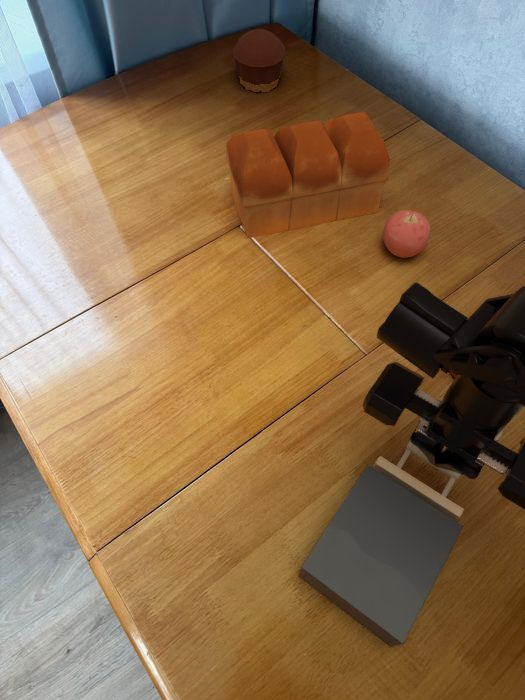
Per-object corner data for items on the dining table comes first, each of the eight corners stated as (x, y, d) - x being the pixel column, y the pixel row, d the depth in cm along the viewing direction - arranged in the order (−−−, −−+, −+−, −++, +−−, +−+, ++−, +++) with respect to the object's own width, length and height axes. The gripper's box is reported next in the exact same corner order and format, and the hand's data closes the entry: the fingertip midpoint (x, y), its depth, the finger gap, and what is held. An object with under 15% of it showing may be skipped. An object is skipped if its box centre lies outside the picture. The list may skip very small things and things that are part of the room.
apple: (388, 229, 93) (397, 193, 86) (428, 243, 91) (441, 207, 84) (372, 257, 89) (381, 222, 82) (414, 272, 87) (427, 238, 81)
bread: (245, 240, 91) (241, 169, 79) (228, 192, 98) (223, 120, 85) (380, 213, 95) (397, 141, 82) (355, 168, 101) (368, 96, 89)
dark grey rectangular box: (360, 480, 69) (367, 464, 64) (448, 538, 65) (463, 525, 60) (298, 576, 62) (301, 567, 57) (391, 647, 58) (403, 643, 53)
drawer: (389, 442, 70) (396, 428, 67) (468, 490, 67) (479, 479, 63) (317, 555, 63) (321, 547, 59) (401, 616, 59) (410, 612, 56)
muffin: (288, 95, 114) (290, 48, 106) (237, 99, 114) (235, 52, 105) (280, 64, 121) (281, 18, 112) (231, 68, 120) (229, 22, 111)
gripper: (619, 387, 47) (542, 452, 60) (428, 290, 53) (396, 369, 66) (578, 486, 42) (504, 534, 55) (373, 368, 48) (350, 437, 61)
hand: (435, 461), depth 60 cm, fingers closed
